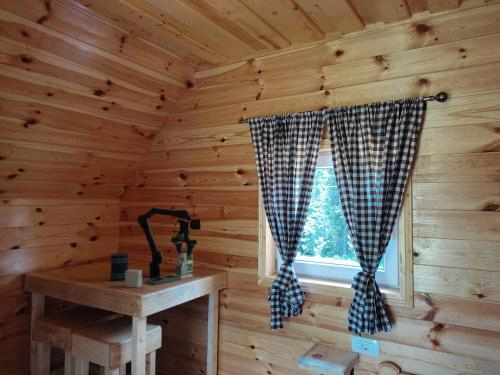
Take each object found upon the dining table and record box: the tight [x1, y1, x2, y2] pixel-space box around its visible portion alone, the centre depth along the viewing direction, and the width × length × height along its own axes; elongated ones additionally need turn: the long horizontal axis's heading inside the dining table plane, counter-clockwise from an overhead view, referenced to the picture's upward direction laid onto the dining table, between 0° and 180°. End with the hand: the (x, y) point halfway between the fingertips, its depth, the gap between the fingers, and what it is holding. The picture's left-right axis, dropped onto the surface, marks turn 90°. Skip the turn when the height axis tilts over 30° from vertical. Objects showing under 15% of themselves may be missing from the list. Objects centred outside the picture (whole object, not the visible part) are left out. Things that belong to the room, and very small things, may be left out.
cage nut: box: [175, 263, 188, 276], centre depth 225 cm, size 5×5×8 cm
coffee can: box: [176, 248, 194, 273], centre depth 242 cm, size 10×10×14 cm
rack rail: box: [145, 273, 182, 286], centre depth 212 cm, size 9×18×2 cm, turn 139°
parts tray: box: [171, 272, 194, 280], centre depth 225 cm, size 9×9×2 cm
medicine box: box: [124, 269, 143, 288], centre depth 200 cm, size 8×4×9 cm, turn 75°
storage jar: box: [110, 252, 129, 282], centre depth 216 cm, size 10×10×15 cm
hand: (183, 255), depth 227 cm, fingers open, 9 cm apart
